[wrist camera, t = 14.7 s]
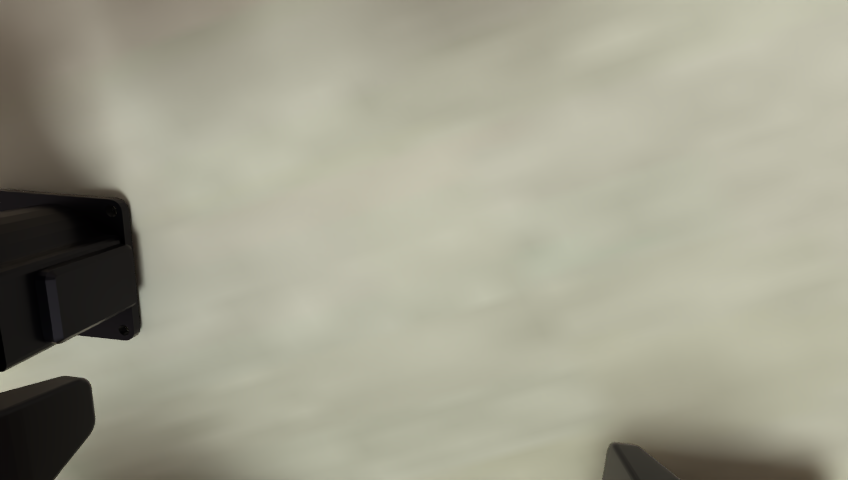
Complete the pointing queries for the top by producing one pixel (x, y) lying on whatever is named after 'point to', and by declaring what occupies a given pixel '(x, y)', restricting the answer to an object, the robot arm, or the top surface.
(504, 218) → the top surface
